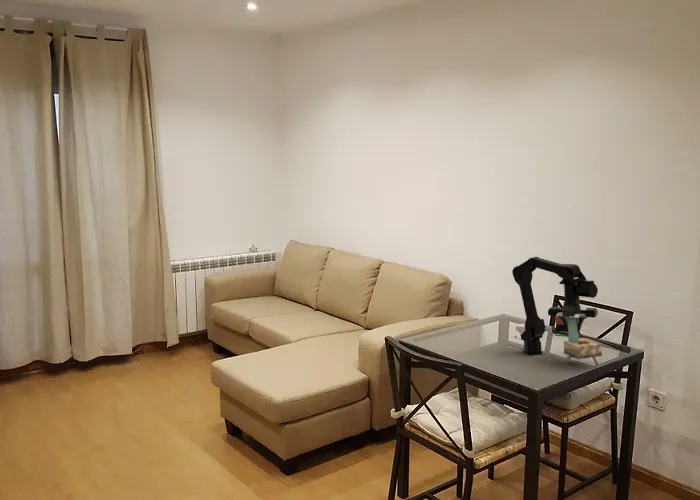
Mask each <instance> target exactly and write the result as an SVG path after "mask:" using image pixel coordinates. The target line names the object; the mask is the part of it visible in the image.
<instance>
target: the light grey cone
mask: <svg viewBox="0 0 700 500" xmlns="http://www.w3.org/2000/svg"><path fill="white" fill-rule="evenodd" d="M516 330H517V331H518V332H519V333H520V334H522V333H523V332H524V331H525V323H520V324H518V325H515V331H516Z"/></svg>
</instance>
